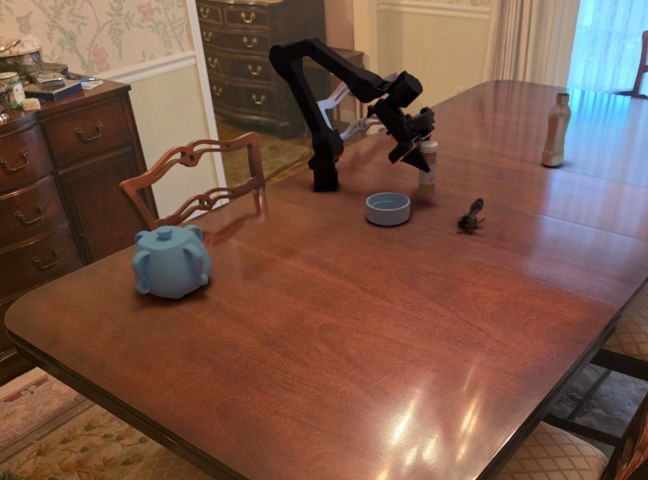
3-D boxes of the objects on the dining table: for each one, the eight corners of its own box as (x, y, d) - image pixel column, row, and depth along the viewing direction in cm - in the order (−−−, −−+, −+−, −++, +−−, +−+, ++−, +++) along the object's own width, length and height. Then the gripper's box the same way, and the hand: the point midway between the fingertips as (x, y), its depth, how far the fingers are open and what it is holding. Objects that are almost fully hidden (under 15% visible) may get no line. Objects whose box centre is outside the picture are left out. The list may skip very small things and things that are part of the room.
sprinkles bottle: (428, 189, 166) (431, 138, 158) (438, 195, 163) (441, 144, 155) (414, 192, 165) (416, 141, 156) (423, 198, 161) (425, 147, 153)
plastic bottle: (538, 167, 184) (549, 96, 171) (542, 159, 188) (553, 90, 176) (560, 169, 182) (573, 98, 169) (563, 162, 186) (576, 92, 174)
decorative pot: (211, 302, 129) (200, 243, 121) (133, 308, 128) (116, 249, 120) (216, 264, 142) (206, 209, 134) (145, 270, 141) (131, 214, 133)
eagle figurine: (492, 229, 149) (490, 208, 155) (479, 208, 145) (476, 187, 151) (464, 243, 153) (462, 221, 159) (450, 223, 149) (449, 202, 155)
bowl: (367, 228, 155) (367, 211, 152) (365, 209, 164) (364, 193, 161) (412, 226, 155) (412, 209, 152) (407, 207, 164) (407, 191, 161)
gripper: (401, 109, 144) (442, 162, 147) (429, 89, 157) (467, 138, 160) (370, 138, 152) (410, 188, 155) (400, 117, 165) (436, 163, 168)
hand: (432, 168), depth 159 cm, fingers closed on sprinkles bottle, 4 cm apart
